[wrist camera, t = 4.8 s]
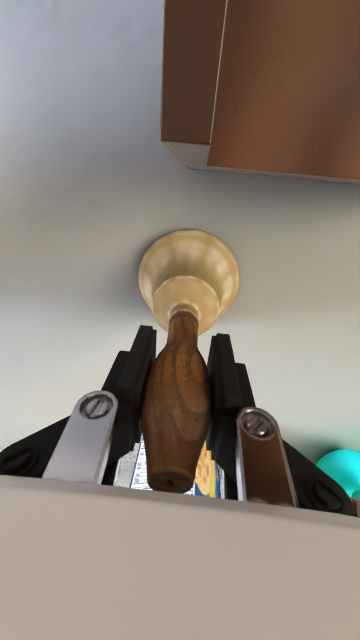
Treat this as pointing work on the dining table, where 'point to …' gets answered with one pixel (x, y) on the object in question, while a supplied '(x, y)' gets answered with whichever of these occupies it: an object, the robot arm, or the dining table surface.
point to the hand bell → (182, 350)
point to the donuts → (343, 469)
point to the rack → (263, 87)
